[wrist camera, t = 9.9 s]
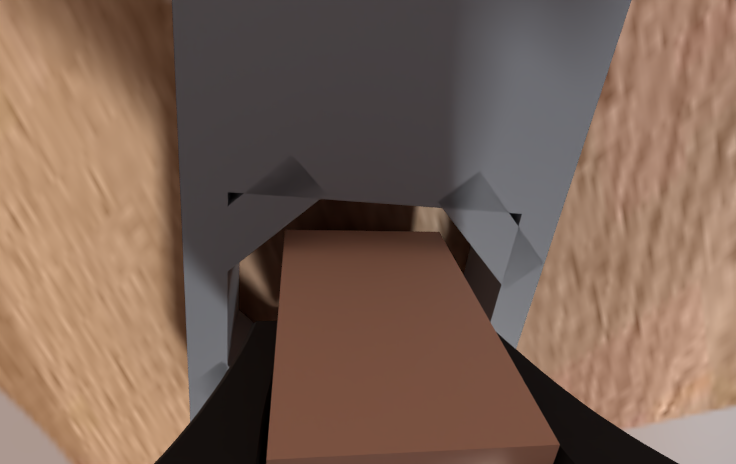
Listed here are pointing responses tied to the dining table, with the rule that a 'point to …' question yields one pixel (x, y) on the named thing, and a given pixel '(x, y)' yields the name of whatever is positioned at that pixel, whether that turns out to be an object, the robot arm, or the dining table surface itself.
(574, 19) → the socket board
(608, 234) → the dining table surface
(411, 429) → the peg
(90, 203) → the dining table surface
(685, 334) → the dining table surface
